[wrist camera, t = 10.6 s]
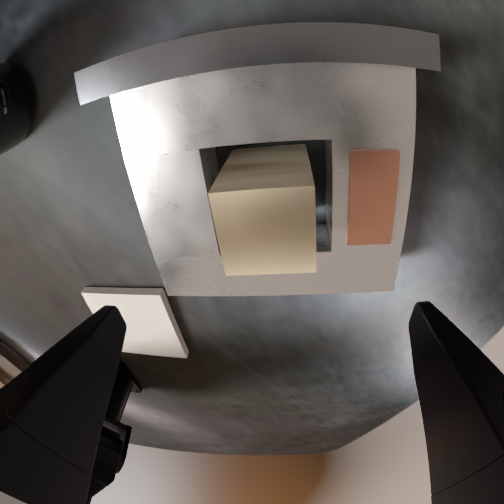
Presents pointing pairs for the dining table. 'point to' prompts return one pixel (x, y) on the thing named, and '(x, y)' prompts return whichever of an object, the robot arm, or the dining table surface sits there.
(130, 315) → the white square tile
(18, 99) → the supplement bottle
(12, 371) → the plant saucer
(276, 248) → the birch peg
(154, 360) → the dining table surface
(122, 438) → the robot arm
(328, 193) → the plate
